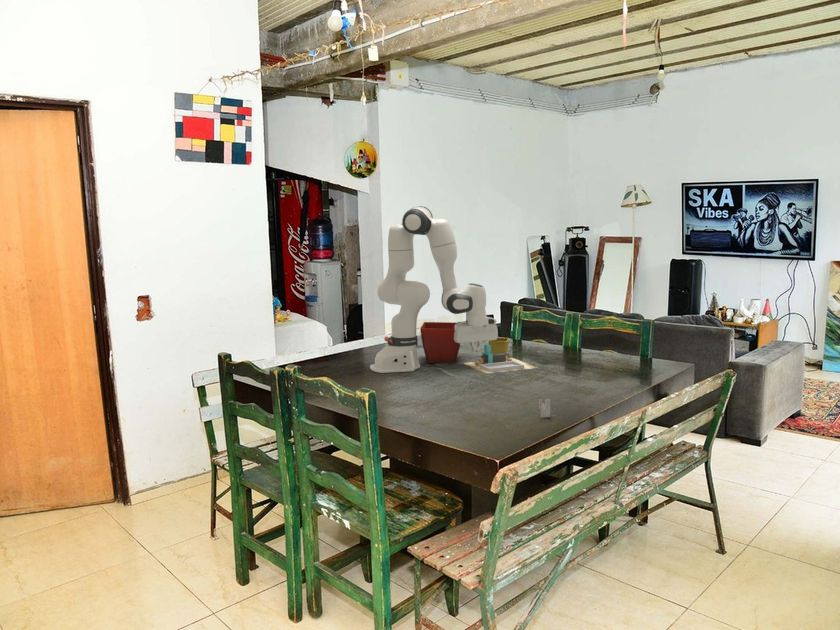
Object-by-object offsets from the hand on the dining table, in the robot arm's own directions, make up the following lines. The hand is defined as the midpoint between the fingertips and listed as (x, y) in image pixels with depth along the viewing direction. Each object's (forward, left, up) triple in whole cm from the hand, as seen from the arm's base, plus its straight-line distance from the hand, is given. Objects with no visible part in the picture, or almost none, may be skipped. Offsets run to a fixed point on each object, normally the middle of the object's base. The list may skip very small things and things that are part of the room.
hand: (475, 351), depth 297 cm
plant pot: (-7, +20, -8) cm, 23 cm away
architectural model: (-15, -69, -8) cm, 71 cm away
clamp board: (+10, -4, -8) cm, 13 cm away
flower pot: (+20, +15, -8) cm, 26 cm away
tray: (+8, -9, -6) cm, 14 cm away
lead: (+9, 0, -6) cm, 11 cm away
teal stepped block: (+6, 0, -6) cm, 8 cm away
